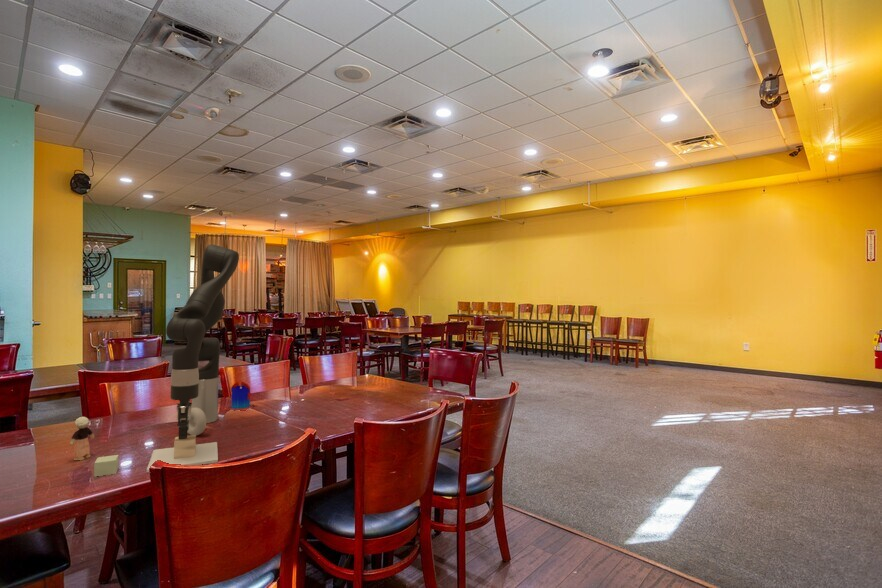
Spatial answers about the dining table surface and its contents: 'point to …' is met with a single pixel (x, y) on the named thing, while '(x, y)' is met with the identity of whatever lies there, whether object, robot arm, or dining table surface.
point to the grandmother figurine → (81, 439)
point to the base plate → (202, 456)
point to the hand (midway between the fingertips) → (183, 434)
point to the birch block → (185, 447)
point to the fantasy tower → (240, 397)
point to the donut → (197, 421)
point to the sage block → (106, 465)
